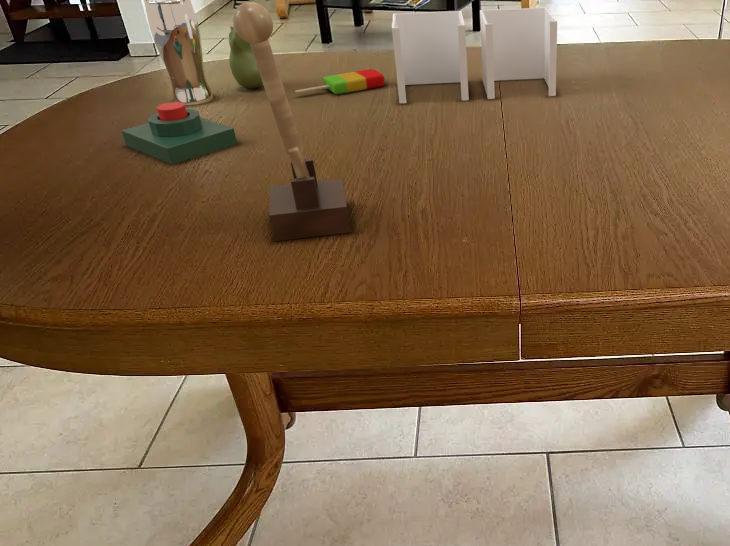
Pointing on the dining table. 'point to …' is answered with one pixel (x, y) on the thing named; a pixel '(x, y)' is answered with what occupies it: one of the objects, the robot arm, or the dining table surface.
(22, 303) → the dining table surface
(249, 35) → the wooden rod
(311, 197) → the holder
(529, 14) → the twin white cubbies
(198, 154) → the button box
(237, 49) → the pear
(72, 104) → the dining table surface
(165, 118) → the button
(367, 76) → the popsicle
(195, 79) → the beer glass
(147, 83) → the dining table surface
